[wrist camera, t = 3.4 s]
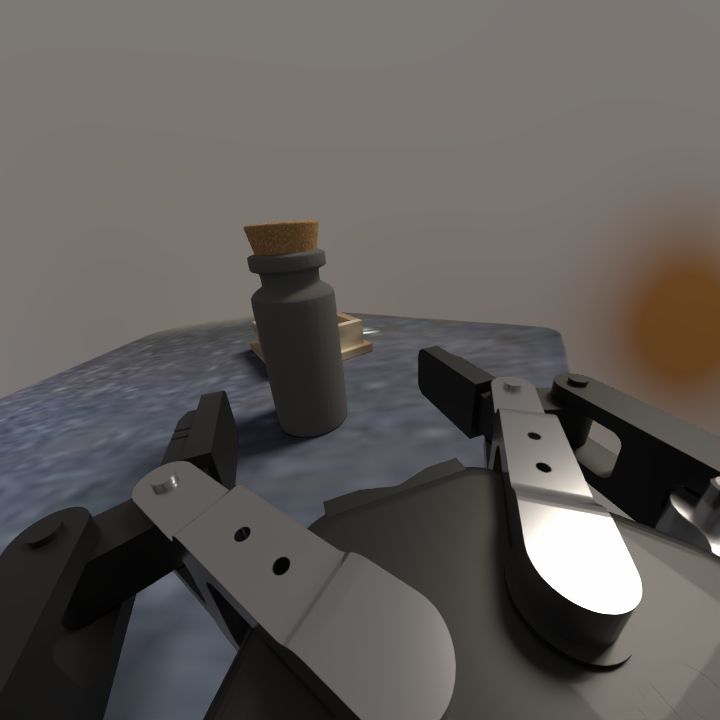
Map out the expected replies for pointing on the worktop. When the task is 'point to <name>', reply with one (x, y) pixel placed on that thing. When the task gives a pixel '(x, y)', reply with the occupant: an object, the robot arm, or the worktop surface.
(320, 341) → the bottle
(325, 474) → the worktop surface
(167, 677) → the worktop surface
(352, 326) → the bottle holder
